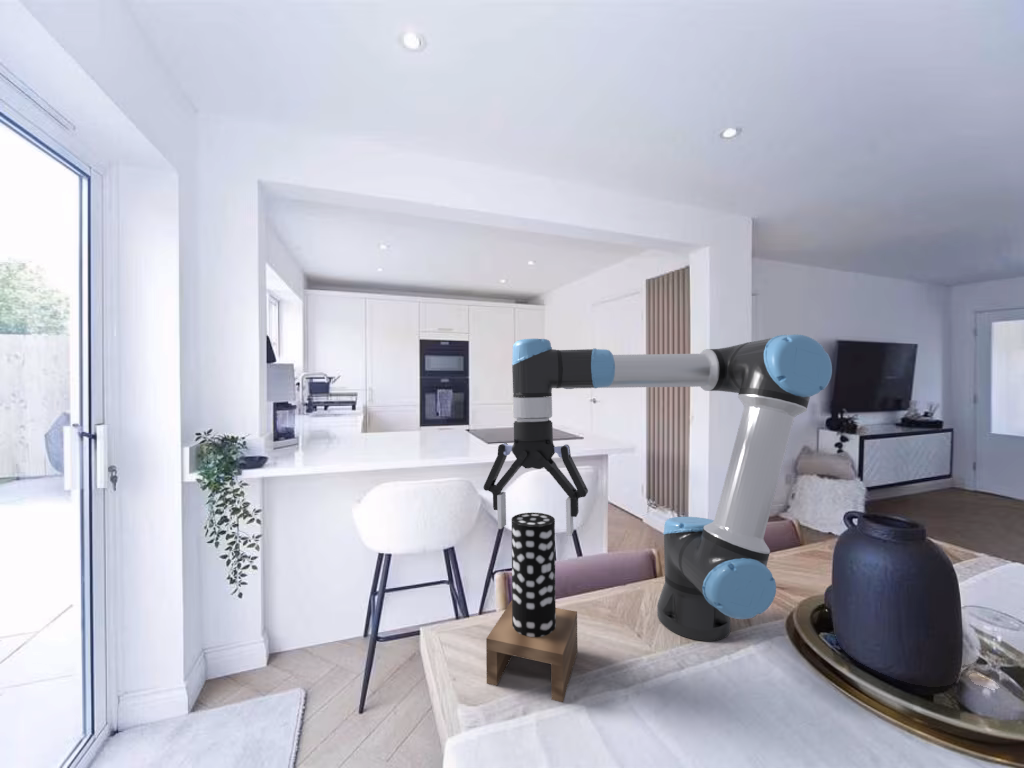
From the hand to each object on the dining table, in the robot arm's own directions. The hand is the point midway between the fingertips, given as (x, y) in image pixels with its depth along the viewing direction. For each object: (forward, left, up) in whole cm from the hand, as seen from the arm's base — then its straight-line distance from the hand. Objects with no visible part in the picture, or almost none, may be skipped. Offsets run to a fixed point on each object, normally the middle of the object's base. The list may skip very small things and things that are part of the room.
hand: (535, 530), depth 77 cm
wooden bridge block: (0, 0, -26) cm, 26 cm away
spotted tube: (0, 0, -18) cm, 18 cm away
